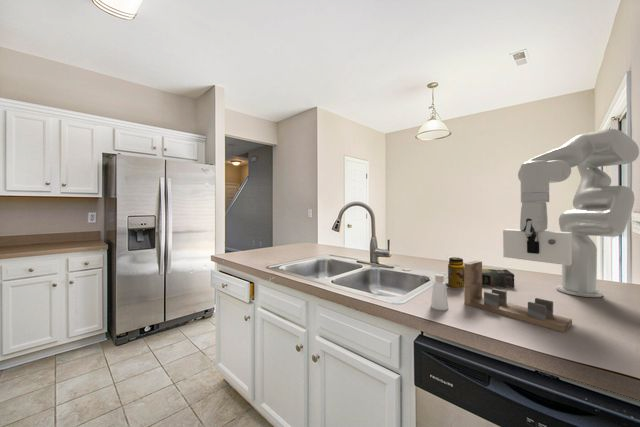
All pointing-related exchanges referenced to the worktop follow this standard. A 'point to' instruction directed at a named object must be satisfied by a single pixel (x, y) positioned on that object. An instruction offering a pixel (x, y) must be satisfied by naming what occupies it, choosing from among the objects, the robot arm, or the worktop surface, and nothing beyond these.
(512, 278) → the juice carton
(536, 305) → the cabinet base
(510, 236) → the door panel
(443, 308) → the pepper shaker
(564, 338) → the worktop surface
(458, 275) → the condiment
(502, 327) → the worktop surface
